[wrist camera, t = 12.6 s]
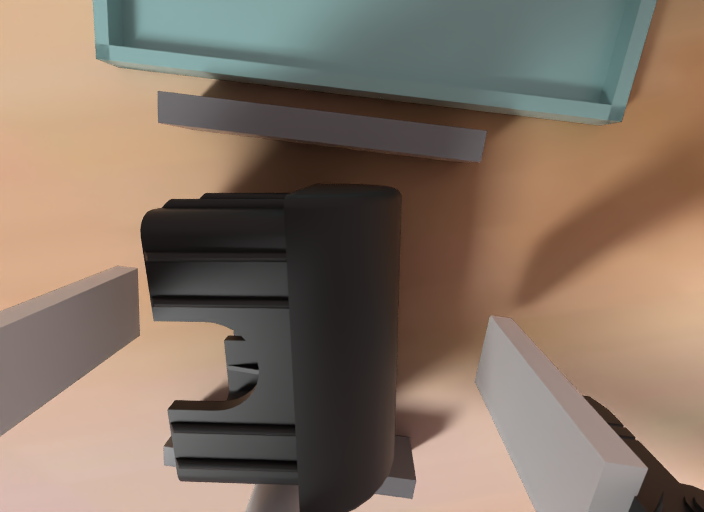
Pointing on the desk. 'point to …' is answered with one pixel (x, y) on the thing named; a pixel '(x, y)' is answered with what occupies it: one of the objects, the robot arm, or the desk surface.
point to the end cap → (287, 335)
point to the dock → (335, 131)
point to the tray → (397, 49)
